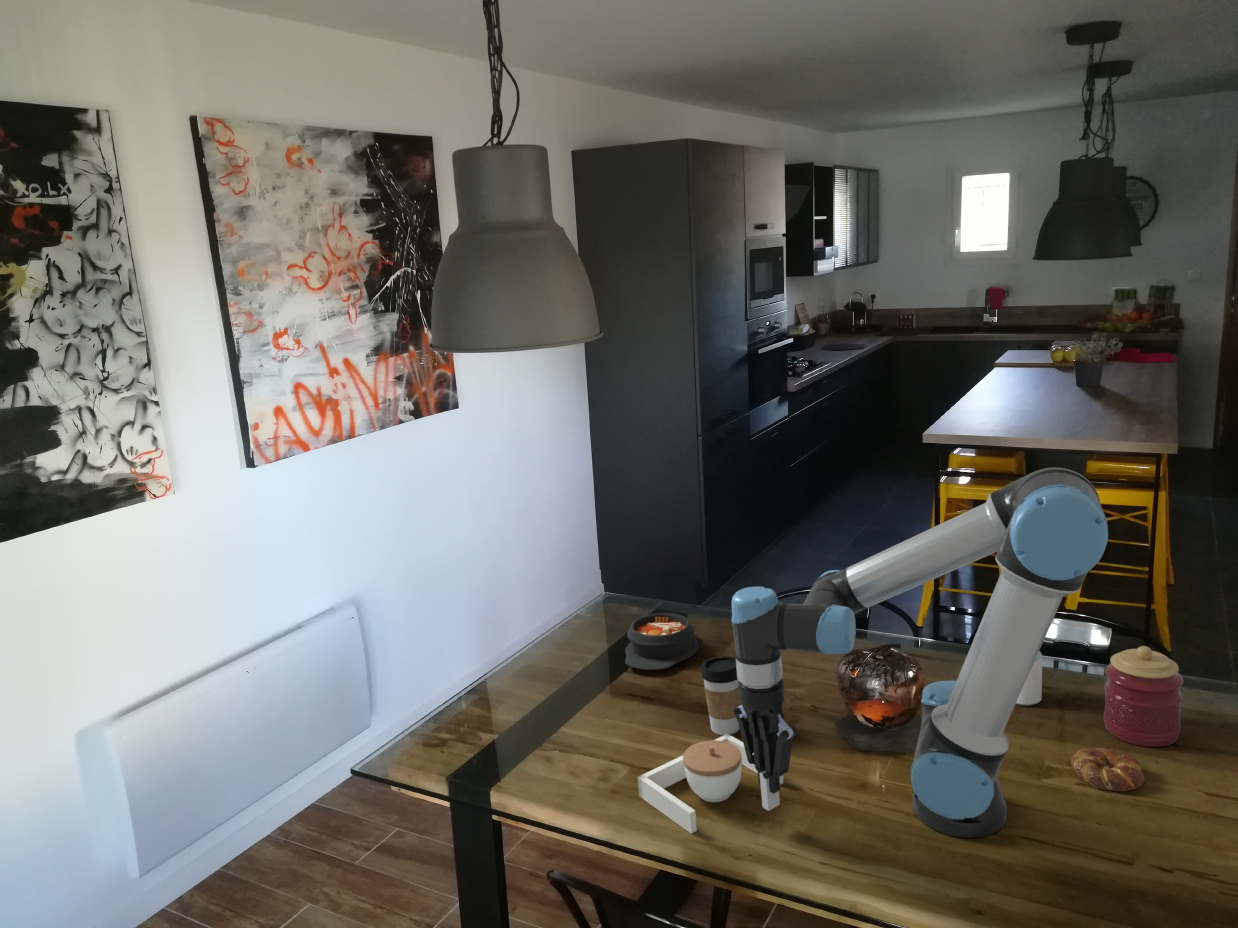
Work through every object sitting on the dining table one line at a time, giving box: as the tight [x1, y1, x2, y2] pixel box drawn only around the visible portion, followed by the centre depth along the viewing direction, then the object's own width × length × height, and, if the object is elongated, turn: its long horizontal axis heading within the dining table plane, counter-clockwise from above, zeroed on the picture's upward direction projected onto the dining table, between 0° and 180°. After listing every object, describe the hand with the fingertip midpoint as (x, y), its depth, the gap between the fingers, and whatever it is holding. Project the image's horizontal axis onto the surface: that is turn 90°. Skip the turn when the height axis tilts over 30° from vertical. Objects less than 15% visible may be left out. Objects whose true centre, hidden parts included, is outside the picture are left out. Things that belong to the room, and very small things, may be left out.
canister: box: [1103, 645, 1184, 748], centre depth 173 cm, size 13×13×18 cm
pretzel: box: [1070, 747, 1145, 792], centre depth 161 cm, size 12×11×4 cm
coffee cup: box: [700, 655, 741, 736], centre depth 188 cm, size 8×8×15 cm
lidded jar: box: [682, 739, 742, 803], centre depth 166 cm, size 11×11×9 cm
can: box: [1015, 650, 1043, 707], centre depth 189 cm, size 7×7×12 cm
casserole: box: [624, 612, 700, 671], centre depth 226 cm, size 25×19×8 cm
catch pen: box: [637, 734, 784, 835], centre depth 167 cm, size 15×22×4 cm
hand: (771, 805), depth 154 cm, fingers closed
